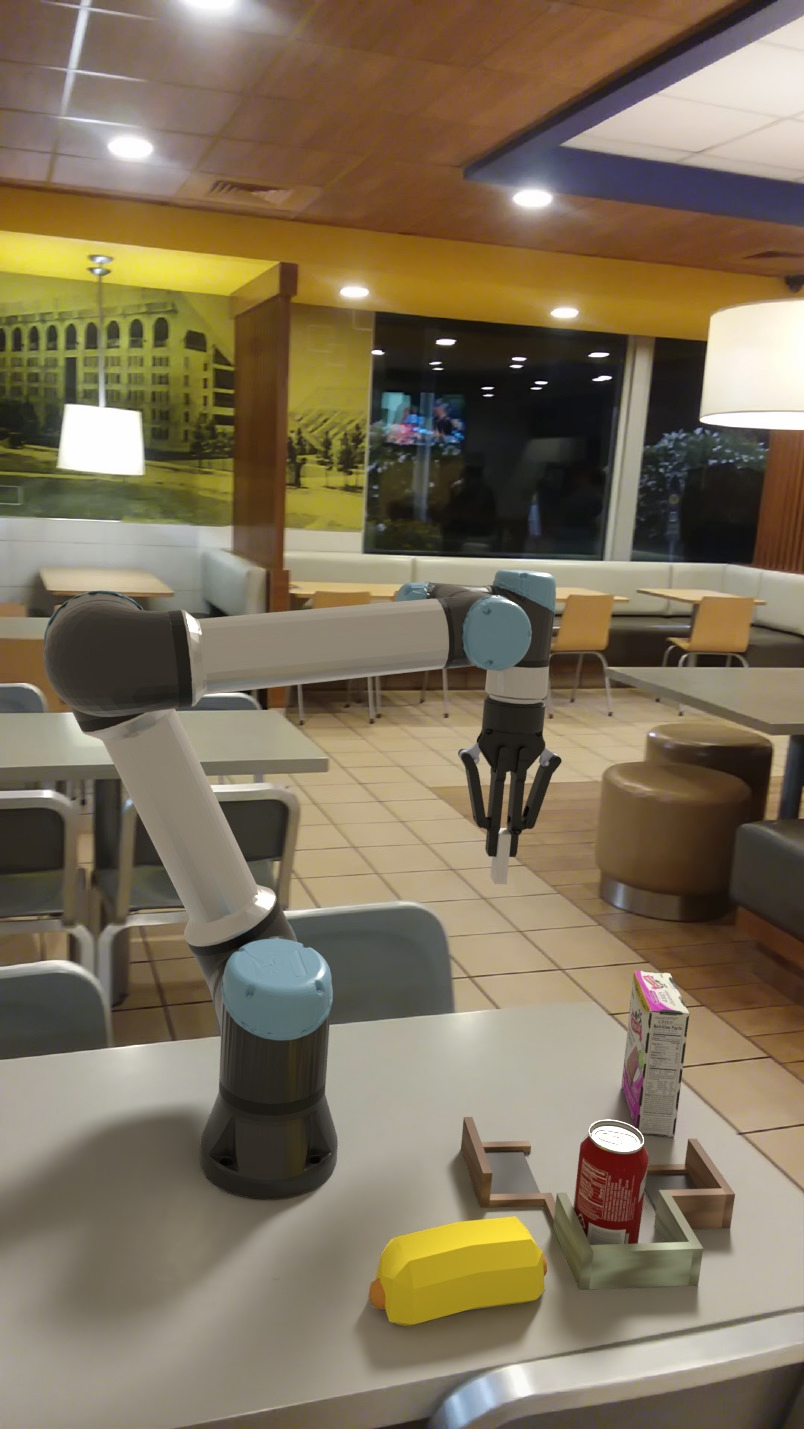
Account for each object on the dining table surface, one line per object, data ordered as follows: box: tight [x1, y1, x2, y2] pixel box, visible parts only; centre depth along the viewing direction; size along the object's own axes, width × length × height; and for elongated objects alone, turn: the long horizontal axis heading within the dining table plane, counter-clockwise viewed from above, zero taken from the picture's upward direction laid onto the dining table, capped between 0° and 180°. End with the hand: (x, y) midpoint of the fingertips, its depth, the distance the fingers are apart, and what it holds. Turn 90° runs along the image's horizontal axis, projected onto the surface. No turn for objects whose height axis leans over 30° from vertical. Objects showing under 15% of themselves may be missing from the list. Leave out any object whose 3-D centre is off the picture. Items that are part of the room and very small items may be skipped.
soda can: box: [572, 1119, 650, 1245], centre depth 108 cm, size 7×7×12 cm
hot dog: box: [368, 1215, 548, 1327], centre depth 100 cm, size 18×7×8 cm
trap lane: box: [460, 1116, 736, 1291], centre depth 114 cm, size 26×23×4 cm
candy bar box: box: [620, 970, 690, 1138], centre depth 133 cm, size 11×5×16 cm, turn 178°
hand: (498, 880), depth 136 cm, fingers closed
